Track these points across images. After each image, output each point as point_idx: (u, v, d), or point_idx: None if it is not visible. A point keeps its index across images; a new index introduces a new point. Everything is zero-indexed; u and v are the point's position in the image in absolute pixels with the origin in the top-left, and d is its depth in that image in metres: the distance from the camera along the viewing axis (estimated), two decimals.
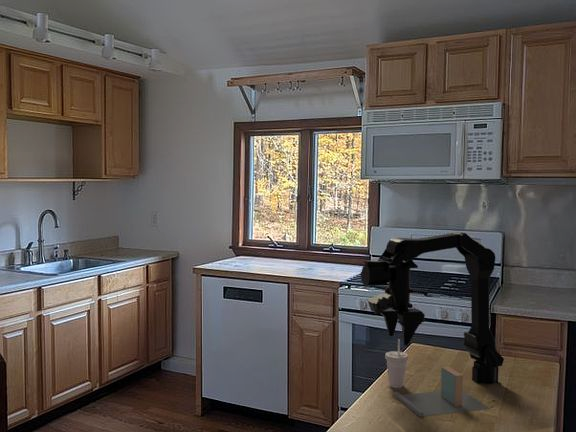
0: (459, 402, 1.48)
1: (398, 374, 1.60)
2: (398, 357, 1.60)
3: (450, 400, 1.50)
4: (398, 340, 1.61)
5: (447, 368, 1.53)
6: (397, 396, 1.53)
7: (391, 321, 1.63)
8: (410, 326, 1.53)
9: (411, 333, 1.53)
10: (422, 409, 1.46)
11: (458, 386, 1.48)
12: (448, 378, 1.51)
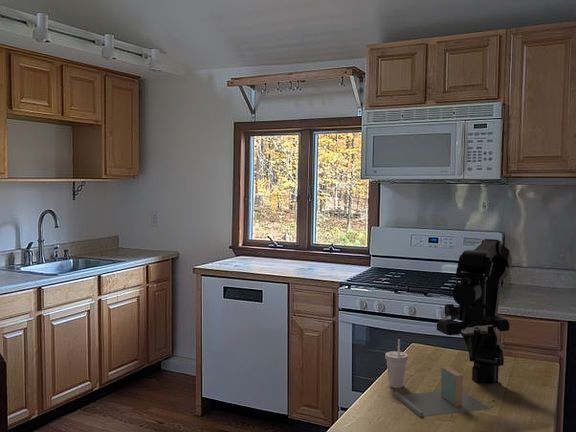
0: (459, 402, 1.48)
1: (398, 374, 1.60)
2: (398, 357, 1.60)
3: (450, 400, 1.50)
4: (398, 340, 1.62)
5: (447, 368, 1.53)
6: (397, 396, 1.53)
7: None
8: None
9: (470, 346, 1.51)
10: (422, 409, 1.46)
11: (458, 386, 1.48)
12: (448, 378, 1.51)
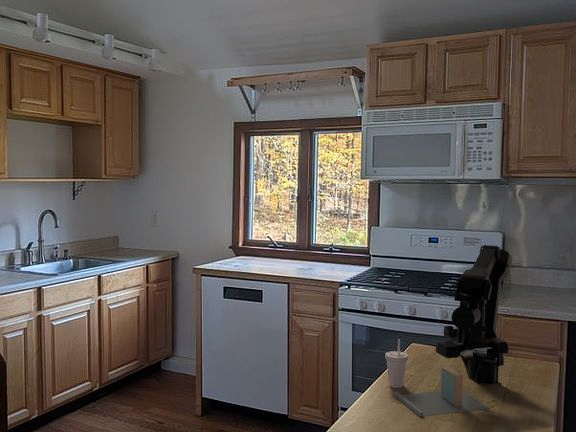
0: (459, 402, 1.48)
1: (398, 374, 1.60)
2: (398, 357, 1.60)
3: (450, 400, 1.50)
4: (398, 340, 1.62)
5: (447, 368, 1.53)
6: (397, 396, 1.53)
7: None
8: (468, 360, 1.52)
9: (469, 368, 1.51)
10: (422, 409, 1.46)
11: (458, 386, 1.48)
12: (448, 378, 1.51)
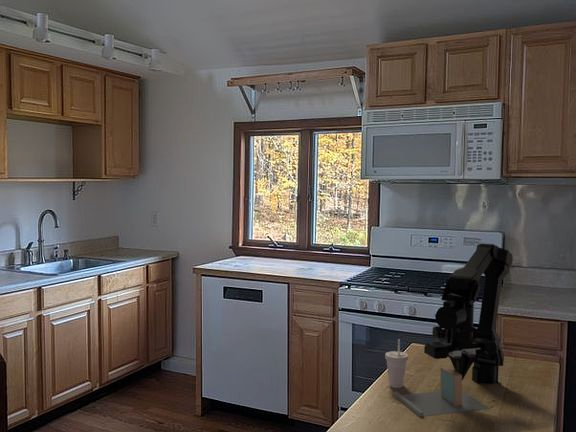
0: (459, 402, 1.48)
1: (398, 374, 1.60)
2: (398, 357, 1.60)
3: (450, 400, 1.50)
4: (398, 340, 1.62)
5: (446, 368, 1.53)
6: (397, 396, 1.53)
7: None
8: (457, 361, 1.51)
9: (457, 369, 1.50)
10: (422, 409, 1.46)
11: (457, 386, 1.48)
12: (448, 379, 1.51)
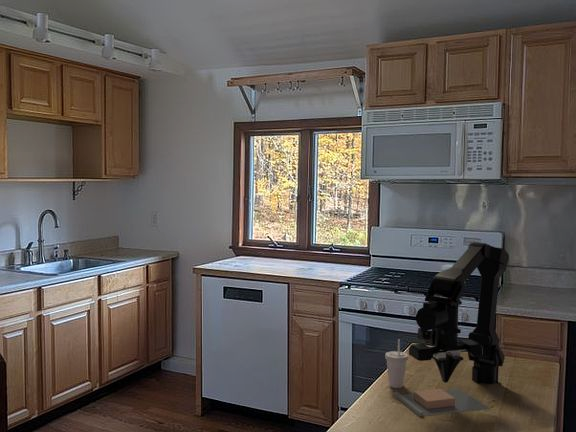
0: (452, 401, 1.48)
1: (398, 374, 1.60)
2: (398, 357, 1.60)
3: None
4: (398, 340, 1.61)
5: (416, 397, 1.51)
6: (397, 396, 1.53)
7: None
8: (442, 363, 1.49)
9: (442, 371, 1.49)
10: (422, 409, 1.46)
11: (437, 404, 1.47)
12: None
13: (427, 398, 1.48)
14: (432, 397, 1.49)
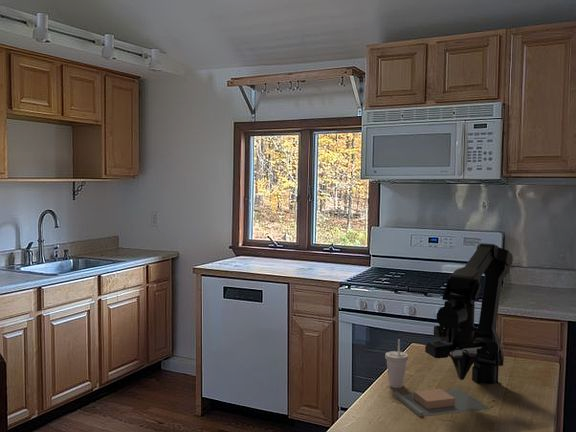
0: (452, 401, 1.48)
1: (398, 374, 1.60)
2: (398, 357, 1.60)
3: None
4: (398, 340, 1.61)
5: (416, 397, 1.51)
6: (397, 396, 1.53)
7: None
8: (458, 360, 1.51)
9: (458, 368, 1.51)
10: (422, 409, 1.46)
11: (437, 404, 1.47)
12: None
13: (427, 398, 1.48)
14: (432, 397, 1.49)
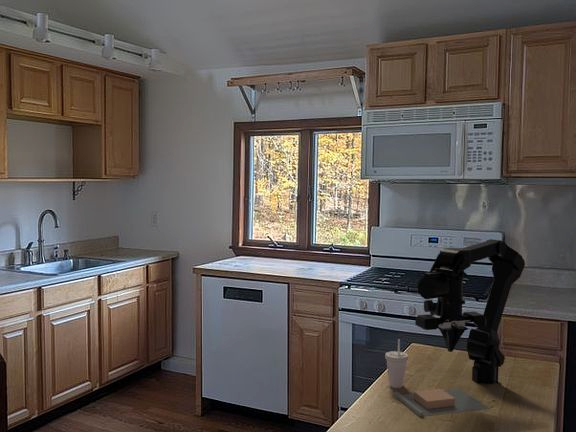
0: (452, 401, 1.48)
1: (398, 374, 1.60)
2: (398, 357, 1.60)
3: None
4: (398, 340, 1.61)
5: (416, 397, 1.51)
6: (397, 396, 1.53)
7: None
8: (447, 333, 1.56)
9: (447, 340, 1.56)
10: (422, 409, 1.46)
11: (437, 404, 1.47)
12: None
13: (427, 398, 1.48)
14: (432, 397, 1.49)
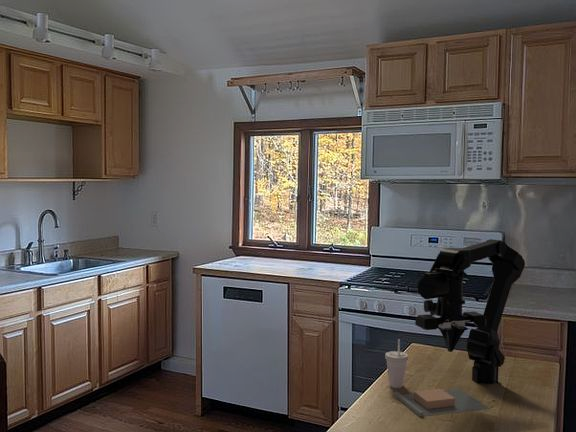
0: (452, 401, 1.48)
1: (398, 374, 1.60)
2: (398, 357, 1.60)
3: None
4: (398, 340, 1.62)
5: (416, 397, 1.51)
6: (397, 396, 1.53)
7: None
8: (447, 332, 1.56)
9: (447, 340, 1.56)
10: (422, 409, 1.46)
11: (437, 404, 1.47)
12: None
13: (427, 398, 1.48)
14: (432, 397, 1.49)
